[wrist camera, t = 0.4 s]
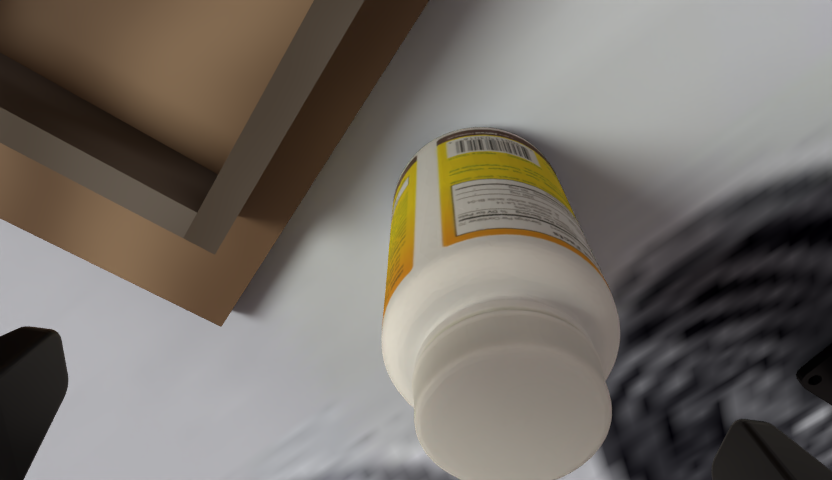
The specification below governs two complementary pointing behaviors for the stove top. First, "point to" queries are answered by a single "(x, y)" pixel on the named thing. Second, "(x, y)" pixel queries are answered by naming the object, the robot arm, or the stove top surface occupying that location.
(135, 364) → the stove top surface
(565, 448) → the supplement bottle
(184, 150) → the holder board
